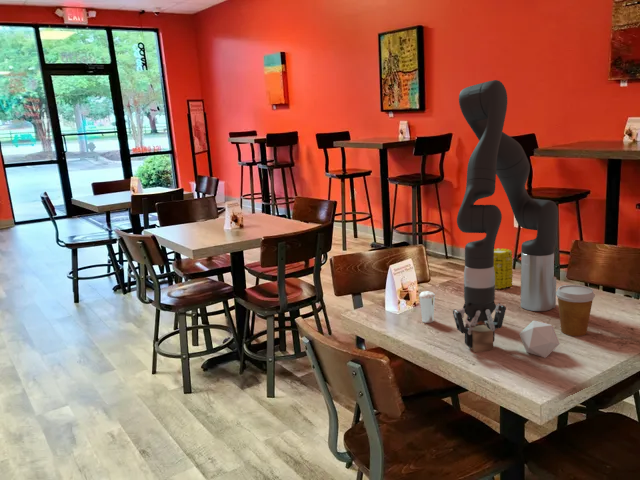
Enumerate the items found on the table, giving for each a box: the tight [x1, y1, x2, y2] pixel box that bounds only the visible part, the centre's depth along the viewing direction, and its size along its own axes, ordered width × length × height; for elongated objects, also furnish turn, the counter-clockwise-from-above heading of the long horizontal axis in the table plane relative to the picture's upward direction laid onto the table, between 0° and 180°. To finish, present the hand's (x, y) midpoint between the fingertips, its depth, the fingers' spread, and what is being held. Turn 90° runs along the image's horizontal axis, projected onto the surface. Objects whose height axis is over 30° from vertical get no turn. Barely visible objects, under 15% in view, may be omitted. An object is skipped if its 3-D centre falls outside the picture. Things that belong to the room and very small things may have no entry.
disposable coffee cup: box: [556, 284, 596, 337], centre depth 149 cm, size 10×10×12 cm
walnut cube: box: [469, 324, 494, 353], centre depth 144 cm, size 5×5×5 cm
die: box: [518, 320, 561, 359], centre depth 138 cm, size 8×9×10 cm
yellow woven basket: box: [494, 247, 514, 291], centre depth 192 cm, size 14×11×9 cm
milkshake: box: [418, 288, 439, 324], centre depth 164 cm, size 4×5×10 cm
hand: (479, 344), depth 144 cm, fingers closed on walnut cube, 5 cm apart
